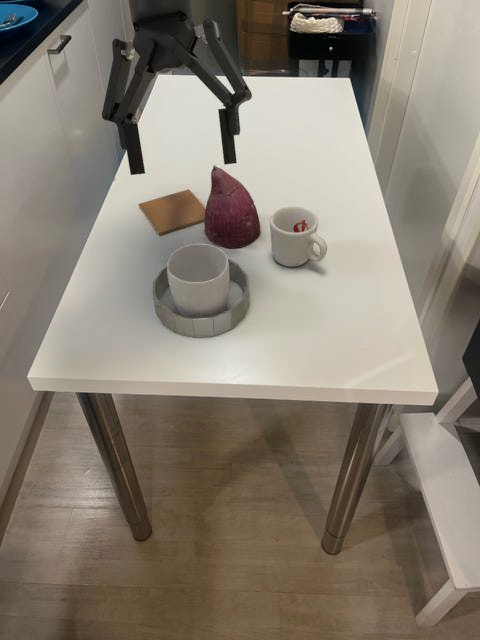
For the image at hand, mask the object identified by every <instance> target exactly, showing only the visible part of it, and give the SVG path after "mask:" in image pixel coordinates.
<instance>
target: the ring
mask: <svg viewBox="0 0 480 640" xmlns="http://www.w3.org/2000/svg"><path fill="white" fill-rule="evenodd" d="M228 262H229V280H230V281H231V282H234V283H235V284H236V285H238V287H239V288H240V289H241V290H242V292H243V295H242V297H241V299H240V300H239V301H238V302H236V304H234V305H233V306H232V307H231V308H229V309H227V310H224V312H222V313H220V314H217V315H214V316H210V317H197V318H192V317H187V316H182V315H180V314H178V313H175V312H173V311H171V310H169V309H168V308H167V307H165V306H164V305H162V303H161V302H160V299H161V298H162V295H163V294H164V292H165V290H166V289H168V288H170V286H169V281H168V274H167V265H165V266H164V267H163V268H161V269H160V270H159V271H158V273H157V274H156V276H155V277H154V280H153V281H152V300H153V304H154V310H155V313H156V316H157V317H158V319H159V321H160V322H161V324H162V326H164V327H166V328H167V329H168V330H170V331H172V332H173V333H174V334H176V335H180V336H185V337H189V338H194V339H197V338H198V339H199V338H213V337H216V336H219V335H221V334H224V333H226V332H229V331H231V330H233V329H235V327H236V326H237V325H238V324H240V323H241V322H242V321H243V320H244V319H245V317H246V314H247V312H248V311H249V307H250V283H249V277H248V274H247V272H246V271H245V270H244V269H243V268H242V267H241V265H240V264H238V263H237V262H236V261H233V260H231V259H229V258H228Z"/></svg>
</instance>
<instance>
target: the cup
mask: <svg viewBox="0 0 480 640" xmlns="http://www.w3.org/2000/svg"><path fill="white" fill-rule="evenodd" d="M318 227H319V219H318V217H317V215H316V214H315V213H314V212H313V211H312V210H310V209H308V208H305V207H301V206H296V205H293V206H292V205H291V206H284V207H280V208H278V209H276V210H275V211H273V213H272V214H271V215H270V217H269V229H270V243H271V253H272V256H273V258H274V260H275V261H276V262H277V263H279V264H280V265H282V266H286V267H298V266H301V265H303V264H306V262H307V261H308V260H310V261H313V262H316V263H317V262H321V261H323V260H324V259H325V257H326V256H327V253H328V245H327V241H325V239H324V238H323V237H322V236H320V235H319V234H318V233H317V230H318ZM314 244H316V245H317V246H318V248H319V254H317V253H316V252H315V250H314Z"/></svg>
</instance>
